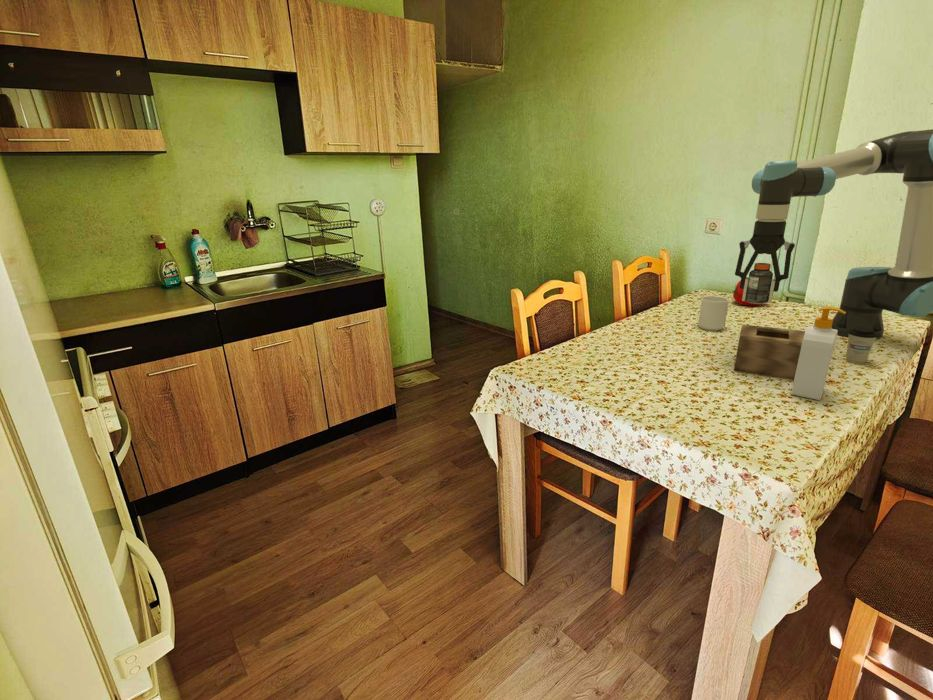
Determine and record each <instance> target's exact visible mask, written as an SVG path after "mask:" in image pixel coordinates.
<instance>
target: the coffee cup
mask: <svg viewBox="0 0 933 700" xmlns="http://www.w3.org/2000/svg"><path fill="white" fill-rule="evenodd" d="M848 333H849V336H848V337H847V349H846V358H845V360H846V361H847V362H850V363H852V362H853V363H852V364H857V363H863V364H866V363H867V360H868V358H869V355H870V353H871V350H872V348H873V346H874V344H875V341H876V340H877V339H876V337H878V336H877V333H875V332H874V330H873V329H870V328H865V327H854V328H853V329H851V330H849V331H848Z"/></svg>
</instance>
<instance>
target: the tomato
mask: <svg viewBox="0 0 933 700" xmlns="http://www.w3.org/2000/svg"><path fill="white" fill-rule="evenodd" d="M740 283H741V279H740V280H738V282H737V284H735V285H734V286H735V288H734V290H733V291H732V293H733V295H732V299H734V301H735V302H737V303H738V304H740V305H742V306H750V307H756V306H757V307H758V306H761V305H762V304H755V303H749V302H747V301H746V300H745V301H742V297H743V291H744V289H740Z"/></svg>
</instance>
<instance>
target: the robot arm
mask: <svg viewBox="0 0 933 700" xmlns="http://www.w3.org/2000/svg"><path fill="white" fill-rule="evenodd" d="M872 174H902V175H903V176H902V183H903V184H905V186H906V187H907V193H906V198H905V205H904V210H903V217H902V224H901V228H900V235H899V241H898V246H897V252H896V259H895V262H894V263H895V264H894V266H893V267H890V266H889V267H888V266H862V267H859V266H858V267H853V268H851V269H850V270H848V273H847V275H846V279H845V283H844V287H843V292H842V296H841V301H840V306H839V308H838V309H840V310H843V311H844V312H846V313H845V314H843V313H841V312H838V311H836V313H835V315H834V316H833V318H831V319H832V320H833V323H832V327H831V328H832V329H835V330H838V332H837V336H843V337H847V338H848V336H849V333H848V331H849V330H851V329H853V328H854V327H865V328H870V329H873V330H874V332H875V333H877V336H878V337H876V339H875V340H877V338H878V339H881V338H883V335H884V333H885V327H884V320H883V319H884V318H883V310H884V311H888V312H891V313H895V314H899V315H901V316H906V317H907V316H908V317H913V318H922V317H924V316H928V315H929V314H931V313H933V128H932V129H923V130H911V131H909V130H908V131H903V132H899V133H895V134H891V135H888V136H885V137H880V138H878V139H874V140H873V139H872V140H871V141H866V142H863V143H861V144H859V145H858V146H857V147H856V148H853V149H848V150H845V151H841V152H836V153H831V154H828V155H823V156H820V157H816V158H811V159H807V160H804V161H800V162H798V161H796V160H777V161H775V160H774V161H768V162H767V163H766V164H765V166H764V168H762V169H760V170H758V171H757V172H756V173H755V174H754V175H753V177H752V180H751V189H752V191H753V192H754V193H756V194H757V195H758V196H759V198H758V203H757V209H756V214H755V218H756V221H754V227H753V232H752V236H751V238H750V239H749V240H741V241H740V242H739V245H738V246H739V249H740V250H739V254H738V259H737V263H736V267H735V271H734V275H735V276H736V277H740V280H741V283H740V289H744V291H743V297H742V301H745V298H746V292H747V286H748V280H749V276H748V275H749V273H750V271H751V268H752V267H753V265H754V264H755V261H756V259H757V258H758V256H759V255H763V254H764V255H770V258H771V261H772V267H773V275H774V278H772V283H771V289H770V294H769V300H768V302H767V304H772V301H773V295H774V292H775V293H776V292H777V293H778V291H779V289H780V283H781V281H783V280H788V279H789V275H790V267H791V266H790V265H791V260H792V259H791V258H792V252H793V250H794V248H796V247H795V246H796V244H795V243H794V242H789V241H787V240H786V239H785V232H786V227H787V221H786V220H787V219H788V216H789V211H790V210H789V209H790V206H791V201H792V198H795V197H796V198H797V197H818V196H824V195H827V194H829V193H830V192H831V191H832V190H833V189H834V187H835V185H836V182H837V181H836V180H840V179H843V178H846V177H852V176H854V175H861V176H868V175H872ZM749 245H751V247H752V248H753V250H754V252H753V254H752V256H751V257H750V260H749V261H748V263H747V265H746V267H745V268H744V271H741V270H742V267H743V262H744V259H745V254H746V250H747V249H748V248H749ZM783 246H784V250H785V251H786V253H785V260H784V269H783V274H781V271H780V265H779V260H778V259H779V258H778V253H777V251H778V250H779V249H781V248H782V247H783ZM747 276H748V277H747Z"/></svg>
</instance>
